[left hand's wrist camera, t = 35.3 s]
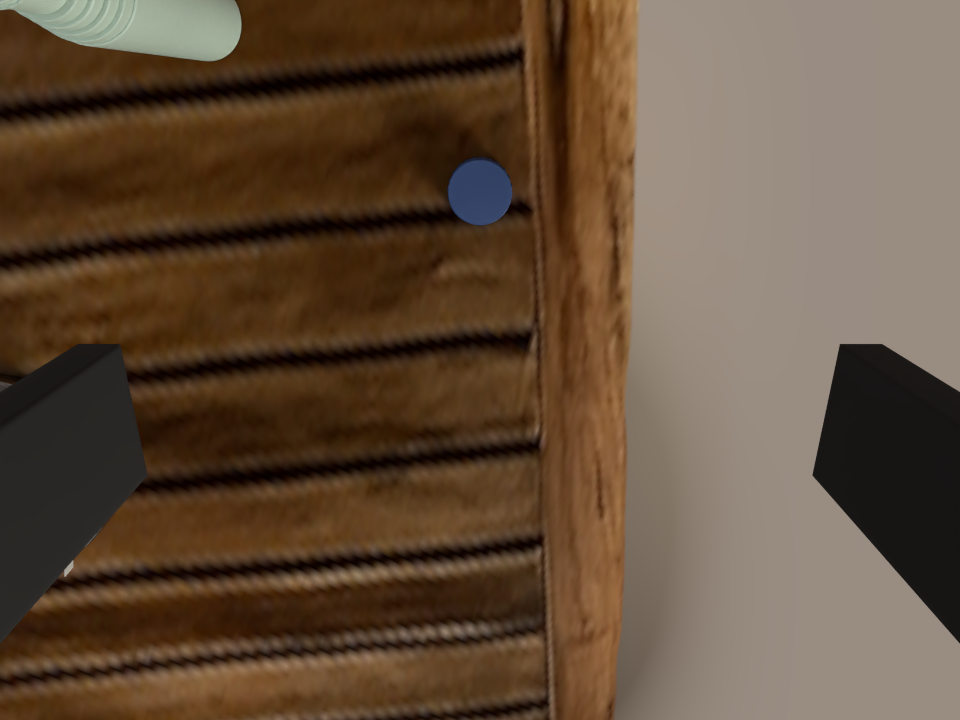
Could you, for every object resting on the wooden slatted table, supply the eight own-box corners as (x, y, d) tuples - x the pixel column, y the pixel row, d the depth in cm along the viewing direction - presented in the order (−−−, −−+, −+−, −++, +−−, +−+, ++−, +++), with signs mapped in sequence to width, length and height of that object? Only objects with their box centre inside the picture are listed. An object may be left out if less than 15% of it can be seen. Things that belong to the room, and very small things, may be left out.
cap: (435, 191, 42) (433, 195, 40) (477, 142, 41) (477, 144, 39) (481, 233, 43) (482, 239, 41) (524, 186, 42) (526, 190, 40)
